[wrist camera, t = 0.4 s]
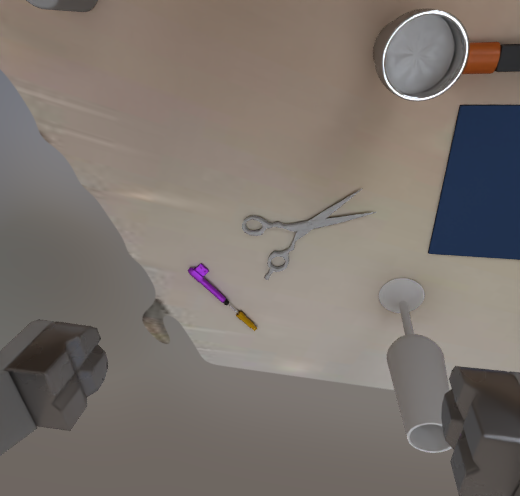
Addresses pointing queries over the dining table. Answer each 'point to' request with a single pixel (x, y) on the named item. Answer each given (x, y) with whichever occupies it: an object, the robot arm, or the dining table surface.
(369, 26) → the dining table surface
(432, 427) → the champagne flute
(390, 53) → the beer glass
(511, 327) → the dining table surface
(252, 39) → the dining table surface
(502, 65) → the marker
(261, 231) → the scissors
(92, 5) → the lumpy-topped squat cylinder
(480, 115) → the mat
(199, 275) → the purple and yellow rod
